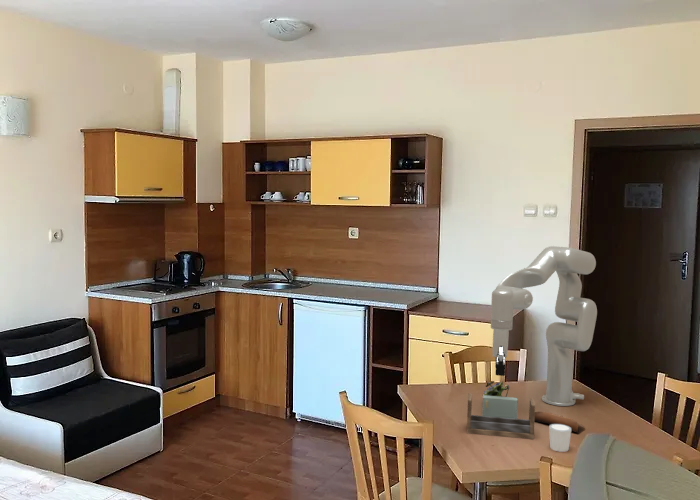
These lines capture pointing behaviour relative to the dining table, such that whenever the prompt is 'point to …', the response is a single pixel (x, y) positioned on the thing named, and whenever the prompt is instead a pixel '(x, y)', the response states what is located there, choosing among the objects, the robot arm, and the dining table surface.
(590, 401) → the dining table surface
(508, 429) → the wooden book rack
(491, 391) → the passion flower
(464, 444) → the dining table surface
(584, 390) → the dining table surface
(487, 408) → the pale green box
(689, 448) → the dining table surface
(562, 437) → the white cup
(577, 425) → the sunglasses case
